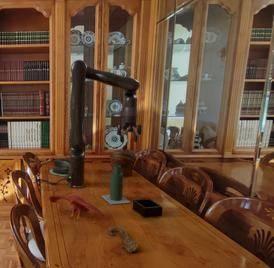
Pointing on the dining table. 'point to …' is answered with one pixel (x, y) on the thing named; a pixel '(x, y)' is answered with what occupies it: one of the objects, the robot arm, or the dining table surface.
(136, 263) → the dining table surface
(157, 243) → the dining table surface
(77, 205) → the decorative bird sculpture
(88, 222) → the dining table surface
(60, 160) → the green hat
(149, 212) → the holder
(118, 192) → the bottle
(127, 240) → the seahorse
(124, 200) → the coaster
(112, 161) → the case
